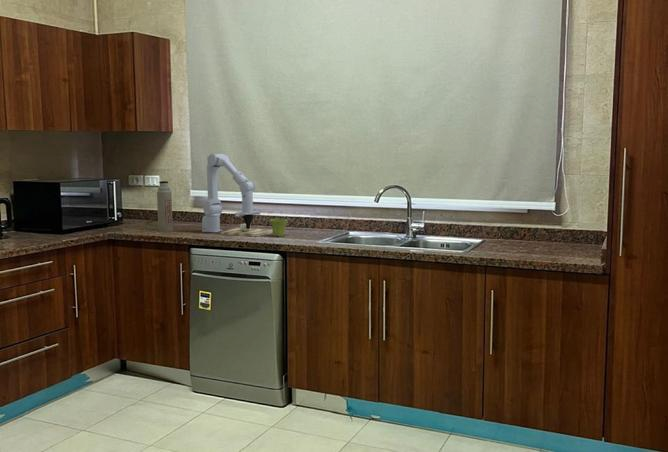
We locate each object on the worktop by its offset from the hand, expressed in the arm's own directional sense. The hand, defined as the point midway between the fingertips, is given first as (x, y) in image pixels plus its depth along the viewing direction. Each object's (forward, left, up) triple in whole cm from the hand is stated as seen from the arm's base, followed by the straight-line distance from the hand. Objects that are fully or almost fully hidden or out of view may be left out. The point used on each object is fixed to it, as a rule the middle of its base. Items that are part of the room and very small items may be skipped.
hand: (248, 228), depth 365 cm
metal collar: (-4, +4, -2) cm, 6 cm away
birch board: (-3, +4, -3) cm, 6 cm away
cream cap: (-3, +2, -1) cm, 4 cm away
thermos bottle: (-53, -1, -4) cm, 53 cm away
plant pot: (+17, +3, -4) cm, 18 cm away
